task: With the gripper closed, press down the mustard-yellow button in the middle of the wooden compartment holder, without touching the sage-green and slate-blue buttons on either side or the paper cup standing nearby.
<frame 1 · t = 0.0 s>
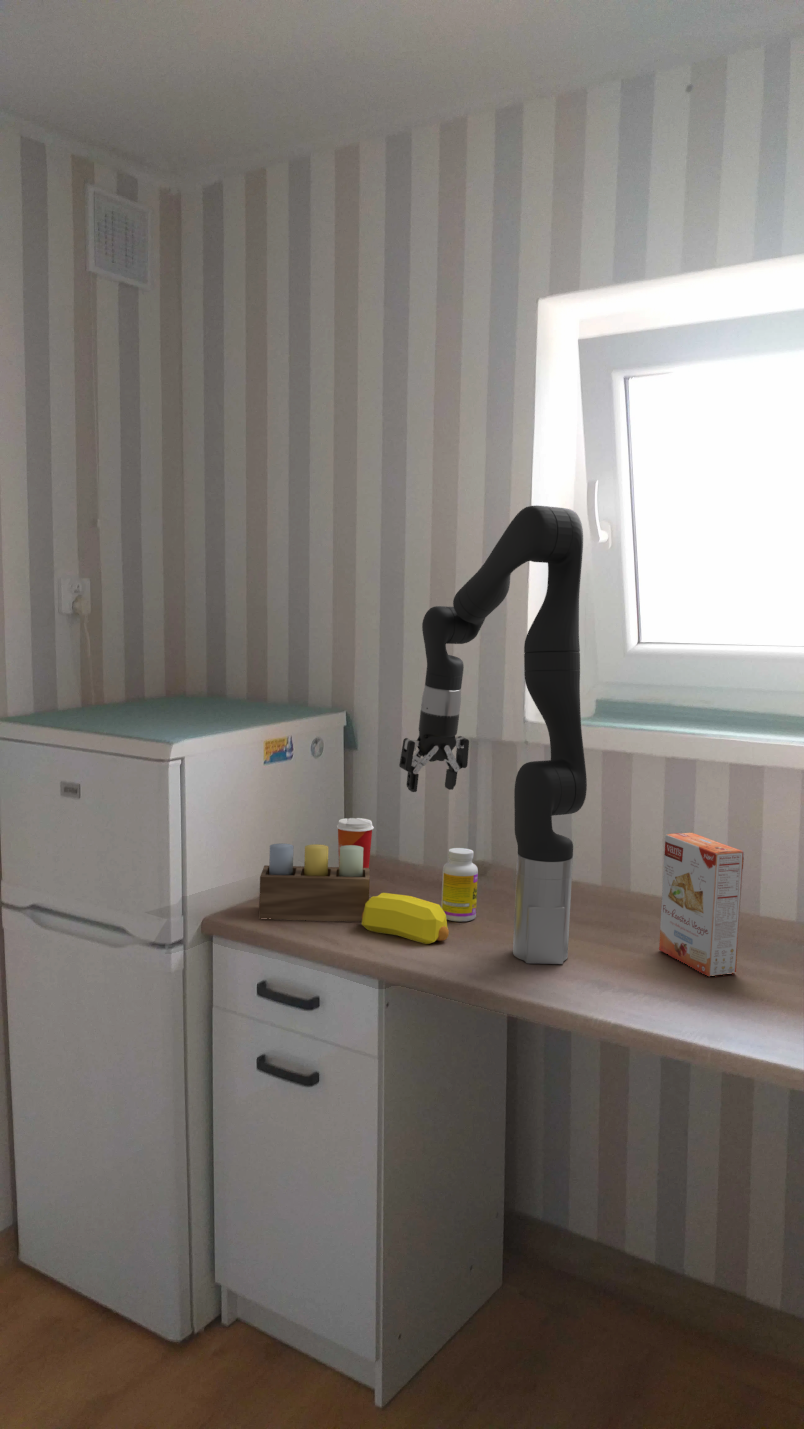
hand: (430, 789, 206), 22 cm above the counter, tool pointing down, fingers open, 8 cm apart
paper cup: (353, 888, 217), on the counter
supplement bottle: (458, 918, 198), on the counter
wooden compartment holder: (314, 914, 197), on the counter
button mustard: (316, 862, 196), point 10 cm above the counter, slide at 0.0 cm
button sage: (351, 863, 197), point 10 cm above the counter, slide at 0.0 cm
yellow toy banana: (404, 935, 188), on the counter
cracker box: (695, 964, 177), on the counter
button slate: (281, 861, 196), point 10 cm above the counter, slide at 0.0 cm
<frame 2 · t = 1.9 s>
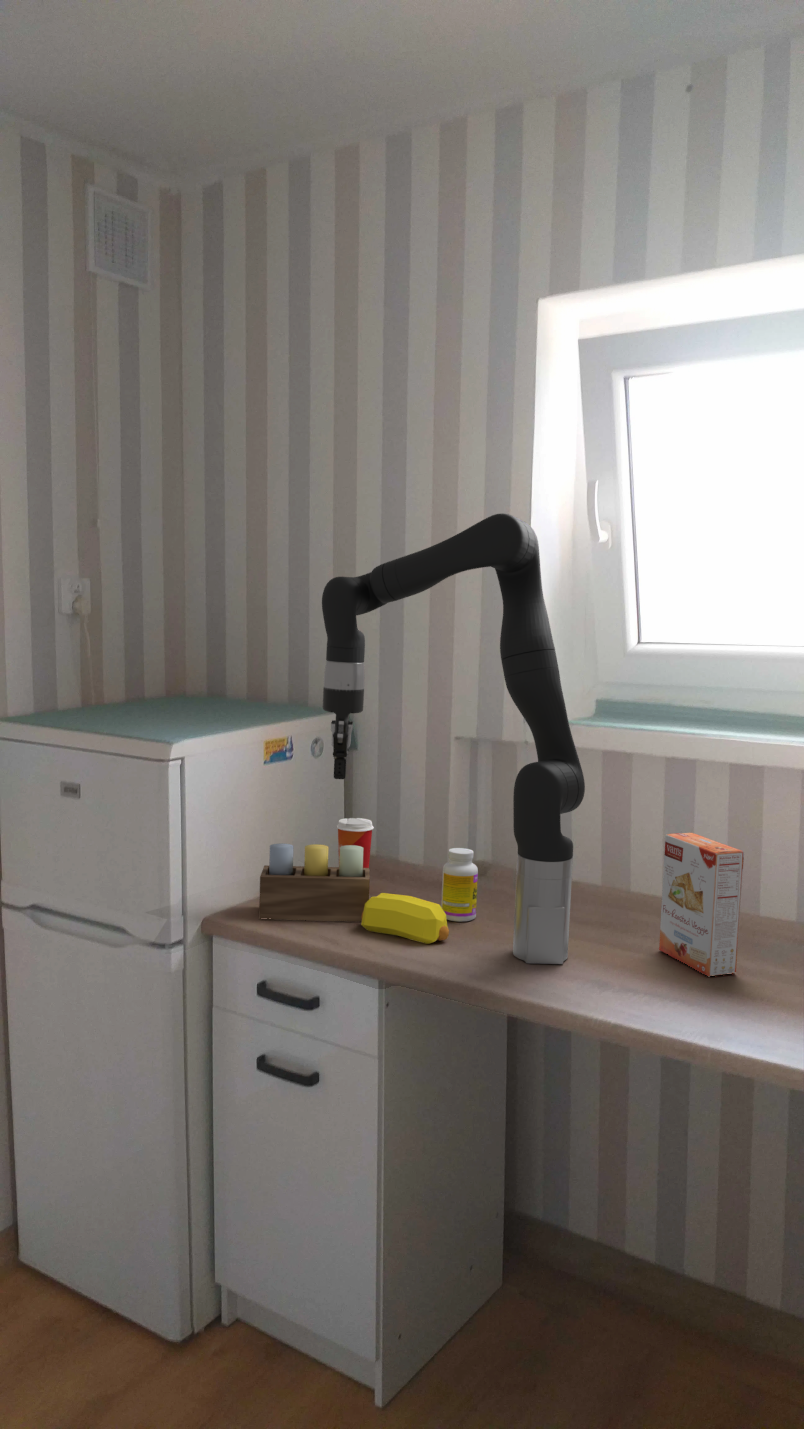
hand: (339, 778, 196), 26 cm above the counter, tool pointing down, fingers closed
nothing on the counter moved.
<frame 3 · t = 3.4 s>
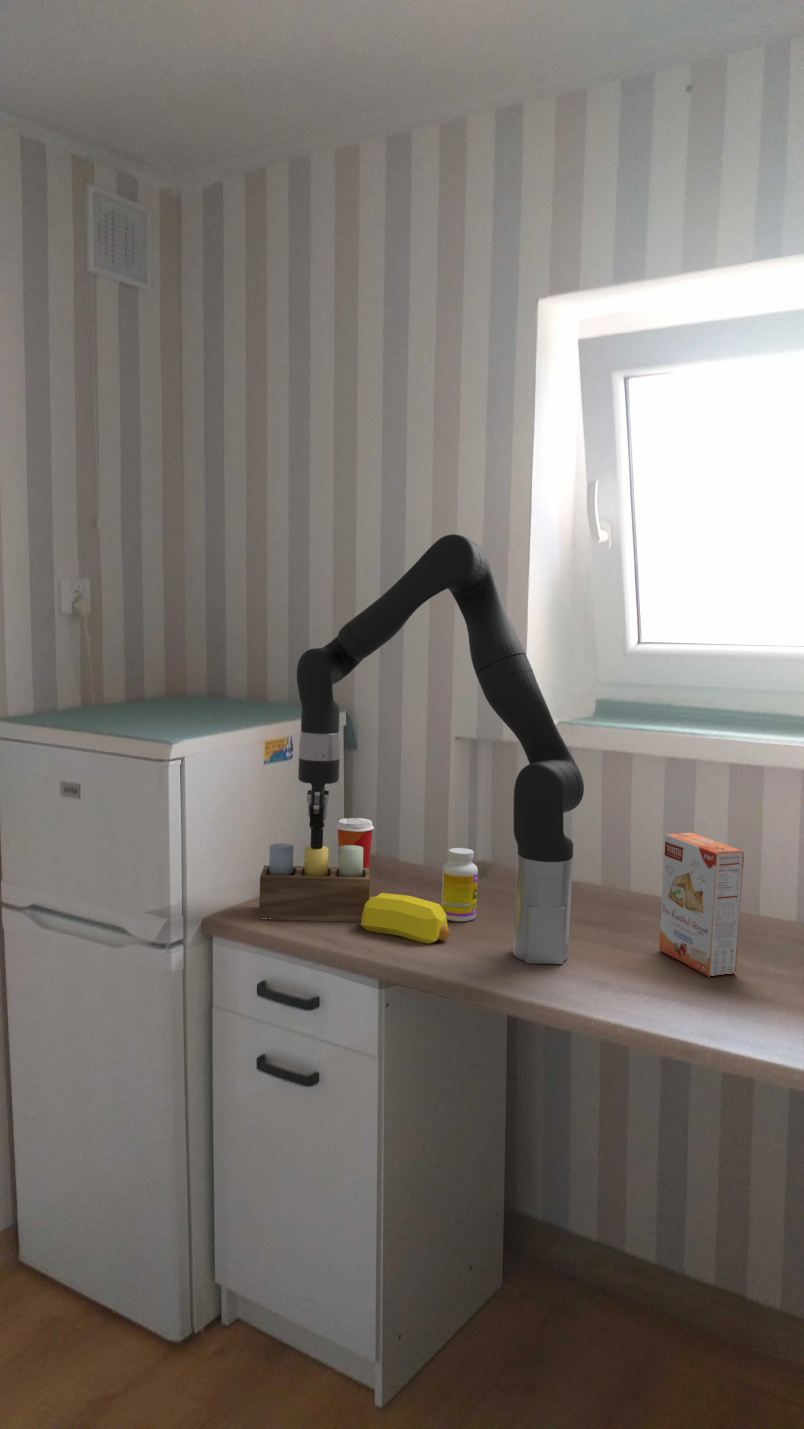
hand: (316, 848, 196), 13 cm above the counter, tool pointing down, fingers closed
button mustard: (316, 863, 196), point 10 cm above the counter, slide at 0.2 cm, touching gripper
everything else where it was.
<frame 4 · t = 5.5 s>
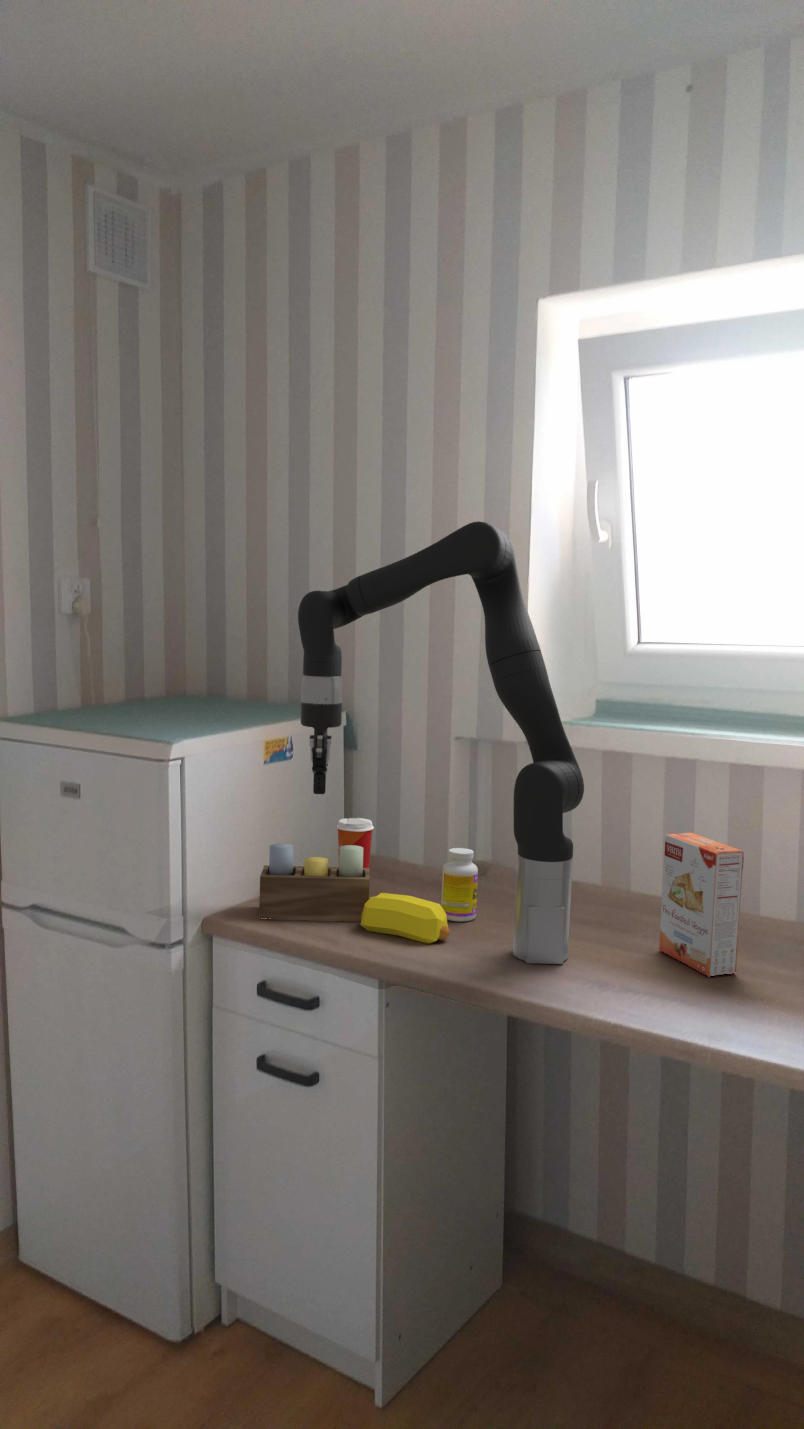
hand: (319, 793, 195), 23 cm above the counter, tool pointing down, fingers closed
button mustard: (315, 875, 197), point 7 cm above the counter, slide at 2.4 cm
everything else where it was.
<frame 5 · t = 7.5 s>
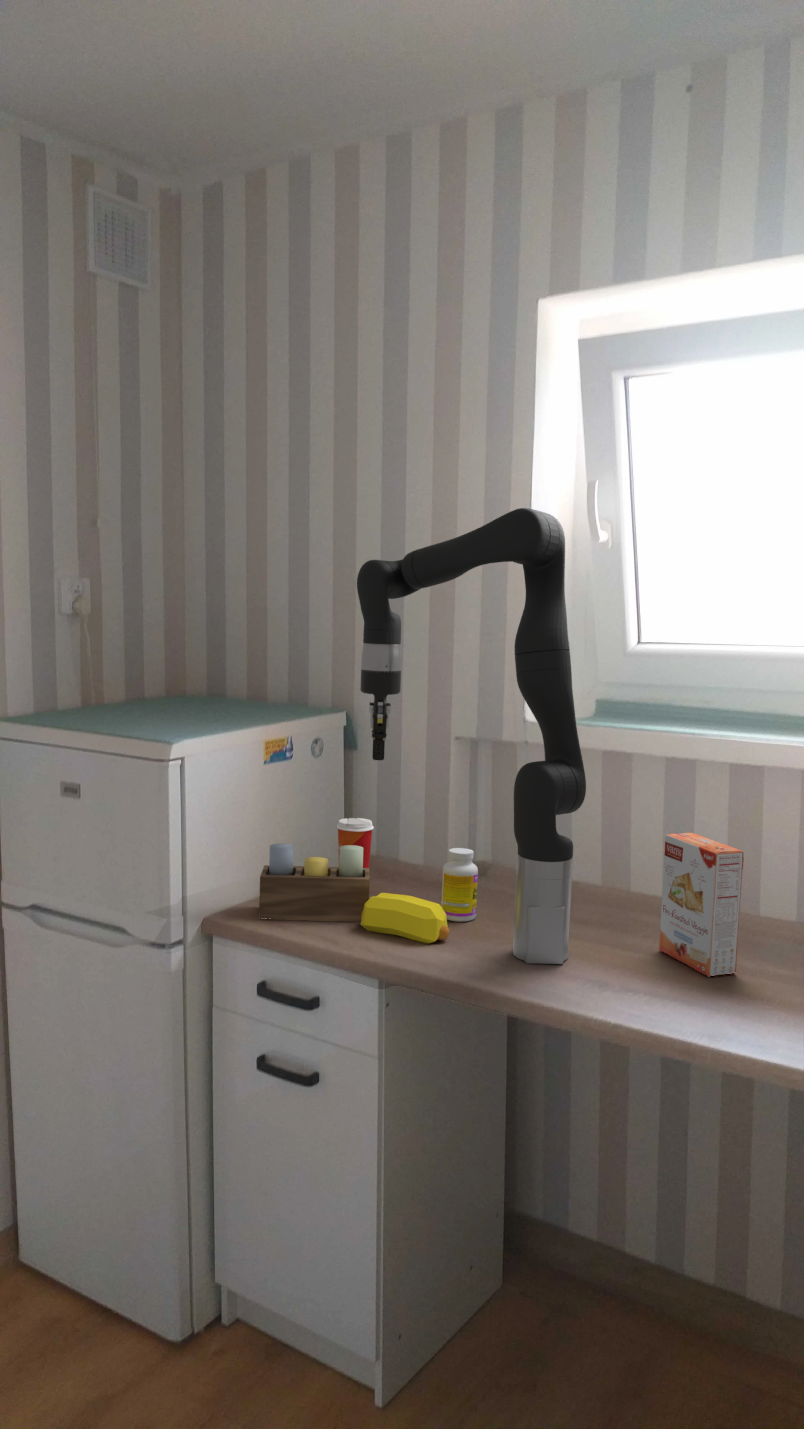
hand: (378, 759, 199), 29 cm above the counter, tool pointing down, fingers closed
nothing on the counter moved.
at the end: button mustard slide at 2.4 cm; button sage slide at 0.0 cm; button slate slide at 0.0 cm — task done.
